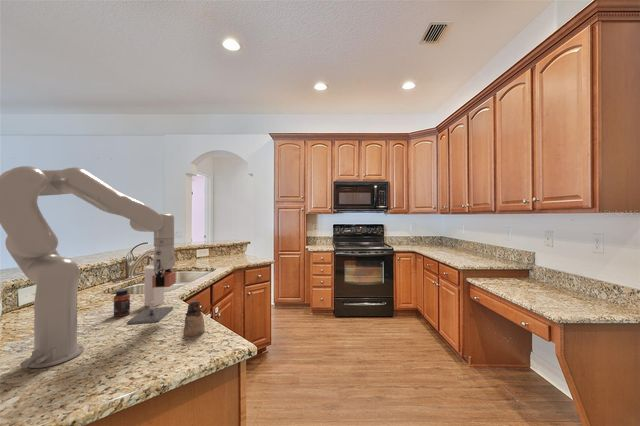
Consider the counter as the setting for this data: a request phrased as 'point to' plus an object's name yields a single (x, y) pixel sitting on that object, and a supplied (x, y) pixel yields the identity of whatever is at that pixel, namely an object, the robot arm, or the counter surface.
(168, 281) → the red hollow square block
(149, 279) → the milk
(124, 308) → the supplement bottle
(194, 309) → the figurine
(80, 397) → the counter surface
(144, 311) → the plate
